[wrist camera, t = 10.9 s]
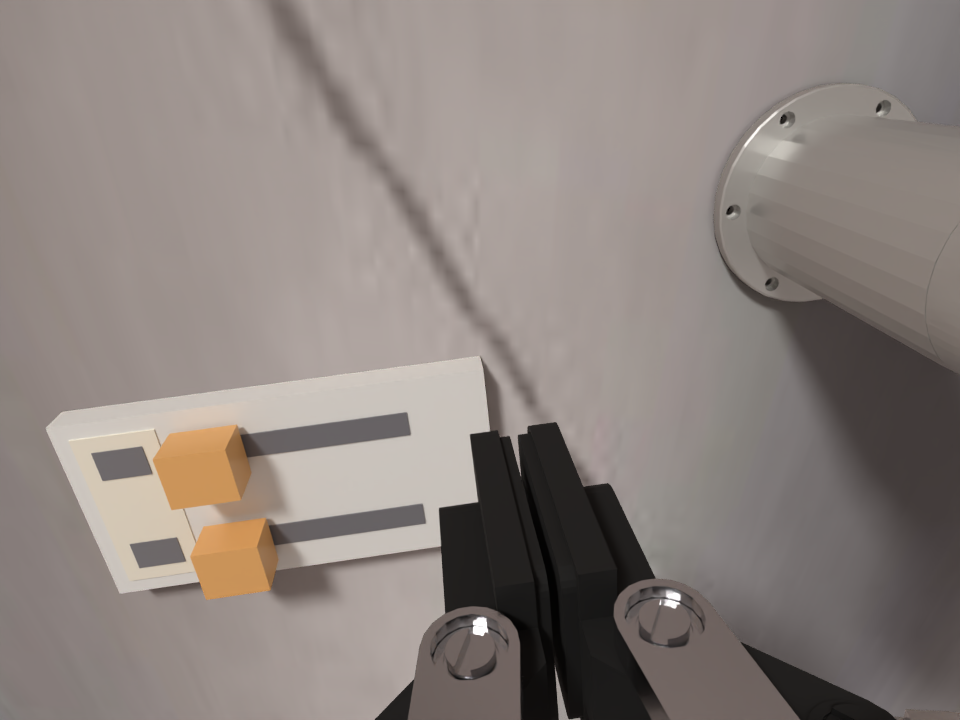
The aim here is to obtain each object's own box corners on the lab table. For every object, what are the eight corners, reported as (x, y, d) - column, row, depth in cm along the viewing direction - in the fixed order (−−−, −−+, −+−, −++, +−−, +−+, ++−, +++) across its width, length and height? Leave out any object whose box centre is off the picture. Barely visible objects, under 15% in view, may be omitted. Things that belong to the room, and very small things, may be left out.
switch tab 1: (237, 424, 39) (224, 449, 36) (251, 472, 40) (241, 500, 38) (169, 433, 38) (152, 459, 36) (186, 482, 40) (171, 510, 37)
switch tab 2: (266, 517, 42) (256, 546, 39) (278, 559, 43) (270, 590, 41) (203, 526, 41) (189, 556, 39) (218, 568, 43) (206, 599, 40)
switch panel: (480, 355, 41) (483, 370, 39) (498, 518, 46) (502, 539, 45) (62, 411, 40) (43, 429, 38) (131, 572, 45) (118, 595, 43)
